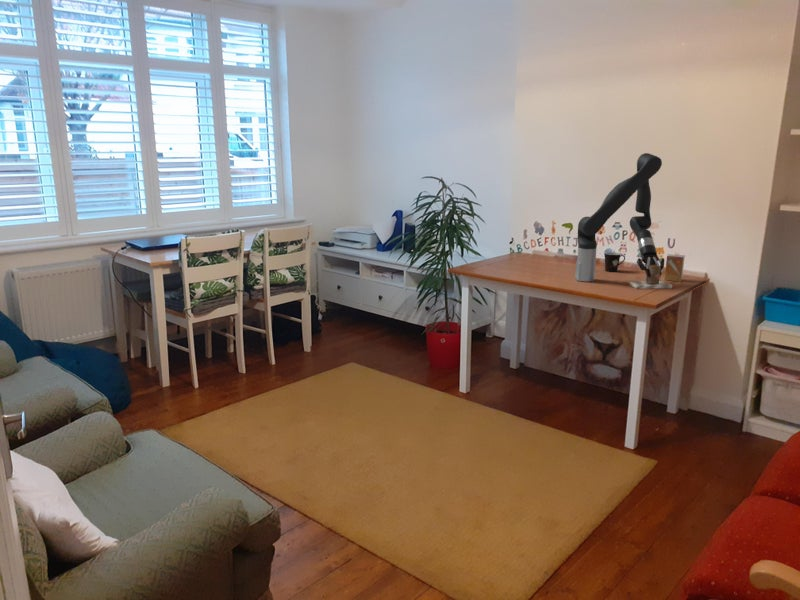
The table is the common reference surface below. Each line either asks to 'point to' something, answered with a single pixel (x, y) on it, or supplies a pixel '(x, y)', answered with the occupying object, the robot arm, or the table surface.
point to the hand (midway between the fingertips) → (654, 276)
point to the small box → (674, 267)
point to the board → (649, 285)
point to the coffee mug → (612, 261)
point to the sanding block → (653, 274)
